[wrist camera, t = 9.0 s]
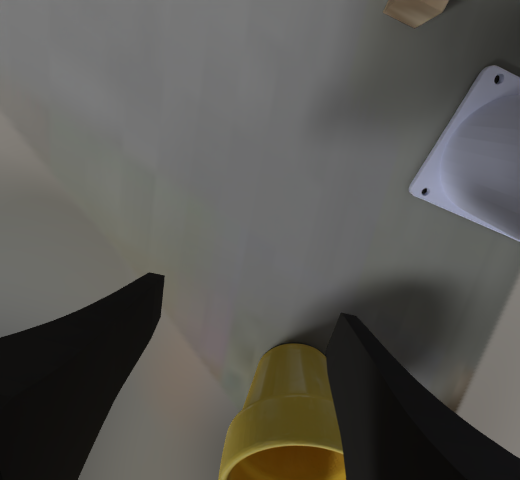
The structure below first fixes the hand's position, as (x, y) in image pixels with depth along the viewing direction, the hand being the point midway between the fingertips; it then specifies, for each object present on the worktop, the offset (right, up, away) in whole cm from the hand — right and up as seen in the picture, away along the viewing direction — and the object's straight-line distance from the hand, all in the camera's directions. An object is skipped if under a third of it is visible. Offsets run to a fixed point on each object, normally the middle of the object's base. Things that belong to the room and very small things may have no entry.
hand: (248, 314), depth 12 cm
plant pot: (+3, -9, +15) cm, 18 cm away
